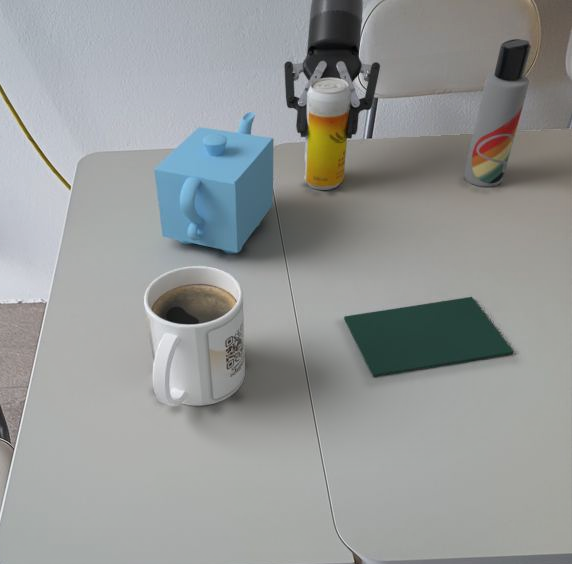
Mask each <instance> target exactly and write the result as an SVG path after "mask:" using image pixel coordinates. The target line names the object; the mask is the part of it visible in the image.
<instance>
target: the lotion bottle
mask: <svg viewBox="0 0 572 564" xmlns="http://www.w3.org/2000/svg"><path fill="white" fill-rule="evenodd" d="M531 50H532V45H531V44H530V41H529V40H527V39H521V38H514V39H513V38H512V39H509V40H507V41H504V42H502V43H501V44H500V48H499V52H498V56H497V60H496V63H495V64H496V65H495V69H494V72H491V73H490V74H487V76H486V78H485V81H484V84H483V89H482V93H481V98H480V102H479V106H478V111H477V116H476V120H475V123H474V129H473V133H472V137H471V140H470V145H469V146H470V147H469V151H468V155H467V159H466V164H465V168H464V173H463V174H464V179H465V181H467V183H469V184H471V185H473V186H478V187H482V188H483V187H484V188H487V187H495V186H498V185H500V184H501V183H502V181H503V179H504V176H505V172H506V169H507V167H508V166H507V165H508V162H509V158H510V155H511V151H512V148H513V143H514V140H515V137H516V132H517V129H518V127H519V122H520V118H521V115H522V111H523V107H524V104H525V100H526V96H527V93H528V89H529V85H530V79H529V78H528V77H527V76H526V75H525V71H526V68H527V64H528V60H529V56H530V53H531Z"/></svg>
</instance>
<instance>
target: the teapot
mask: <svg viewBox="0 0 572 564" xmlns="http://www.w3.org/2000/svg"><path fill="white" fill-rule="evenodd" d="M255 117H256V113H255V112H253V111H250V112H247V113H245V114H244V115H243V116H242V118H241V119H240V122H239V126H238V128H237V131H236V132H235V131H229V130H222V129H214V128H208V127H201V126H199V127H197V128H196V129H195V130H194V131H193V132H192V133H191V134H190V135H188V136H187V137H186V138H185V139H184V140H183V141H182V142H181V143H180V144H179V145H177V147H176V148H175V149H174V150H172V152H170V153H169V154H168V155H167V156H166V157H165V158H164V159H163V160H162V161H161V162H160V163H159V164H158V165H157V166H156V167H155V169H154V178H155V186H156V194H157V202H158V210H159V219H160V225H161V233H162V237H163V238H168V239H171V240H172V239H173V240H176V241H179V242H180V243H181V244H184V245H190V244H196V245H200V246H205V247H209V248H212V249H213V248H214V249H218V250H221V251H223V252H224V253H227V254H237V253H239V252H241V251H242V250H243V247H244V244H245V243H246V242H247V240H248V239H249V238H250V236H251V235H252V233H254V231H255V230H256V228H258V227H259V226H260V225H261V221H262V220H263V219H264V217H265V216H266V215H267V213H268V212H269V210H270V209H271V208H272V206H273V205H274V145H275V143H274V142H275V141H274V140H275V139H274V138H273V137H268V136H261V135H255V134H252V128H253V123H254V120H255Z"/></svg>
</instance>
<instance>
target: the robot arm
mask: <svg viewBox="0 0 572 564" xmlns="http://www.w3.org/2000/svg"><path fill="white" fill-rule="evenodd" d="M363 9H364V2H363V0H311V3H310V12H309V23H308V35H307V36H308V37H307V49H306V56H305V59H304V60H303V62H299V63H294V64H293V62H292V61H289V60H288V61H286V62H285V63H284V67H283V68H284V87H285V102H286V107H287V108H288V109H294V110H296V123H295V128H296V132H297V134H300V138H306V117H307V92H308V90H309V88H310V85H311V83H312V82H313V81H315V80H317V79H321V78H338V79H342V80H345V81H346V82H347V83H348V84H349V89H350V91H351V97H350V109H349V118H348V130H347V139H349V140H350V139H353V136H354V135H356V134H357V132H358V126H359V114H360V113H361V112H362V111H369V110H371V109H372V107H373V102H374V98H375V94H376V89H377V84H378V80H379V75H380V70H381V64H380V63H379V62H376V61H375V62H373V63H372V64H367V63H362V61H361V59H360V49H361V48H360V47H361V34H362V25H363V24H362V23H363V11H364V10H363ZM301 73H303V74H304V76H305V78H306V79H307V81H308V82H307V83H306V85H305V87H304V90H303V92H302V94H301V95H300V97H298V96H296V95H295V81H298V80H299V78H300V74H301ZM360 74H362V76H363V80H364V82H367V85H366V89H365V96H364V97H362V98H359V96H358V94H357V92H356V87H355V85H354V83H353V82H354V81H355V80H356V79H357V77H358V76H359V75H360Z"/></svg>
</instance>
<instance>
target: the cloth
mask: <svg viewBox="0 0 572 564" xmlns="http://www.w3.org/2000/svg"><path fill="white" fill-rule="evenodd" d="M343 319H344V321H345V323H346V325H347V328H348V329H349V331H350V333H351V335H352V337H353V339H354V341H355V344H356V346H357V347H358V349H359V351H360V354H361V355H362V358H363V360H364V362H365V363H366V365H367V367H368V370H369V372H370V373H371V375H372V377H373V378H377V377H382V376H389V375H395V374H400V373H401V374H402V373H406V372H413V371H418V370H419V371H420V370H425V369H432V368H437V367H442V366H449V365H455V364H461V363H467V362H473V361H479V360H486V359H491V358H498V357H504V356H509V355H514V350H513V349H512V348H511V346H510V344H509V343H508V342H507V341H506V340H505V338H504V337H503V336H502V335H501V333H500V332H499V331H498V329H497V328H496V326H495V324H494V323H492V321H491V320H490V318H489V317H488V316H487V315H486V313H485V312H484V311H483V310H482V308H481V307H480V305H479V304H478V303H477V301H475V299H474V298H473V297H472V296H468V297H460V298H455V299H448V300H442V301H436V302H435V301H434V302H429V303H422V304H417V305H410V306H403V307H396V308H390V309H389V308H388V309H383V310H377V311H370V312H365V313H364V312H363V313H358V314H351V315H345V316H344V317H343Z"/></svg>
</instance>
